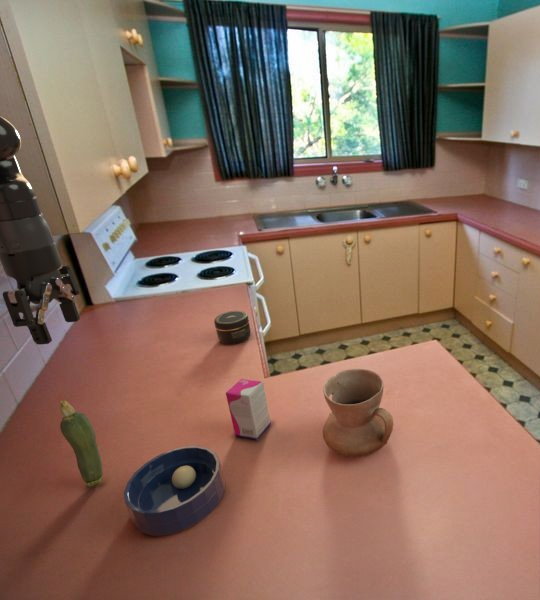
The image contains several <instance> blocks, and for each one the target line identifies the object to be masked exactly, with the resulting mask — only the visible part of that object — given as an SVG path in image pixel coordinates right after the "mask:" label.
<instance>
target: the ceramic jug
mask: <svg viewBox="0 0 540 600" xmlns="http://www.w3.org/2000/svg"><path fill="white" fill-rule="evenodd" d="M384 387H385V385H384V380H383V378H382V376H381V375H379V373H377V372H375V371H373V370H370V369H365V368H349V369H344V370H341V371H339V372H336V374H335V375H332V376H330V377H328V379H326V381H325V382H324V384H323V388H322V389H323V390H322V391H323V396H324V399H325V402H326V404H327V406H328V408H329V409H330V411H331V412H329V415H328V417H327V418H326V420H325V422H324V424H323V427H322V437H323V440H324V443H325V444H326V446H327V448H328V449H329V450H330V451H332V452H334V454H337V455H339V456H342V457H347V458H362V457H365V456H369V455H372V454H374V453H376V452H378V451H379V450H381V449H383V447H384V446H386V445H387V444H388V443H389V440H390V437H391V435H392V433H393V429H394V418H393V416H392V414H391V412H390V411H389V410H388V409H385V408H383V407H380V406H381V403H382V399H383V395H384ZM331 395H332V397H331V398H330V396H331Z"/></svg>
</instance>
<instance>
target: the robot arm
mask: <svg viewBox="0 0 540 600" xmlns="http://www.w3.org/2000/svg"><path fill="white" fill-rule="evenodd" d="M21 139H22V138H21V136H20V133H19V131H18V129H16V127H15V126H14V125H13V124H12V123H11V122H10V121H8V120H7V119H6V118H4V117H2V116H0V263H1V266H2V269H3V271H4V273H5V275H6V276H7V277H9V278H11V279H14V280H15V282H16V289H13V290H6V291H3V292H2V298H3V301H4V304H5V306H6V308H7V309H6V310H7V311H8V314H9V317H10V319H11V322H12V325H13V326H14V328H20V327H27V329H28V331H29V334H30V335H31V338H32V340H33V342H34V343H35V344H36V345H48V344H50V343H51V342H52V341H53V339H52V336H51V333H50V331H49V328H48V325H47V323H46V322H45V312H46V311H48V309H49V304H50V303H51V302H52V301H53V300H55V301H57V302H58V303H59V308H60V310H61V313H62V316H63V319H64V321H65V322H66V323H76V322H78V321H80V320H81V317H80V315H79V311H78V308H77V305H76V302H75V301H76V300H77V297H76V296H79V295H80V294H81V290H80V287H79V285H78V282H77V280H76V276H75V274H74V272H73V270H72V267H71V265H69V264H64V265H63V261H62V258H61V256H60V253H59V250H58V247H57V244H56V242H55V239H54V236H53V233H52V230H51V228H50V226H49V224H48V222H47V220H46V218H45V216H44V213H43V211H42V208H41V206H40V203H39V200H38V197H37V195H36V192H35V189H34V188H33V186H32V185H31V183H30V182H29V181H28V180H27V178H26V177H25V176H24V175H23V173H22V171H21V168H20V166H19V163H18V161H17V158H16V155H17V154H18V153H19V152H20V150H21V148H22V147H21V146H22V140H21ZM67 285H69V286H70V287H71V288H69V287H68V286H67ZM33 304H34V305H33ZM33 312H35V317H34V314H33ZM20 314H22V318H21V315H20Z"/></svg>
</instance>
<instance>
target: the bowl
mask: <svg viewBox="0 0 540 600" xmlns="http://www.w3.org/2000/svg"><path fill="white" fill-rule="evenodd" d="M181 466H190V467H192V468H193V469H194V470H195V472H196V478H195V481H194V482H193V484H192V485H191V486H189V487H187V488H184V489H179V488H177V487H175V486H174V485H173V483H172V476H173V473H174V472H175V471H176V470H177V469H178V468H179V467H181ZM225 489H226V480H225V476H224V473H223V468H222V464H221V460H220V458H219V456H218V454H217V452H215V451H214V450H212V449H210V448H209V447H206V446H201V445H185V446H180V447H177V448H173V449H169V450H168V451H164V452H162V453H160V454H158V455H156V456H155V457H153V458H152V459H149V460H148V461H147V462H145V463H143V465H142V466H140V468H138V469H137V470H136V471H135V472H134V473H133V475H132V476H131V477H130V479H129V480H128V481H127V482H126V485H125V489H124V492H123V497H124V503H125V506H126V508H127V511H128V513H129V516H130V518H131V520H132V524H133V525H134V526H135V528H136V529H138V531H139V532H140V533H143V534H146V535H149V536H168V535H173V534H175V533H179V532H182V531H185V530H186V529H189V528H190V527H192V526H194V525H196V524H198V523H199V522H201V521H203V519H204V518H206V517H207V516H208V515H210V514H211V513H212V511H213V510H214V509H215V508H216V507H217V506H218V505H219V504H220V503H221V500H222V497H223V495H224V493H225Z"/></svg>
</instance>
